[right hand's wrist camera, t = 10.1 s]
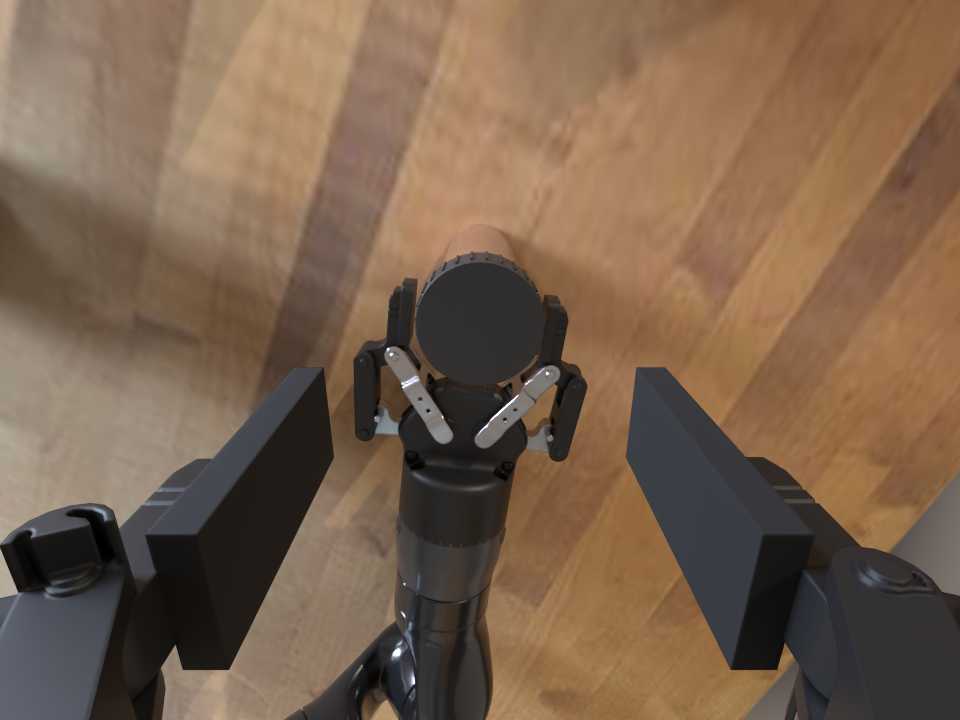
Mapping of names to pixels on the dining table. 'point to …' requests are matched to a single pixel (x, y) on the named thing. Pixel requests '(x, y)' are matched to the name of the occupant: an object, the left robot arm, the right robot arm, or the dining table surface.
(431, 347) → the lid
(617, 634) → the dining table surface
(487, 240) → the jar
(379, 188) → the dining table surface
